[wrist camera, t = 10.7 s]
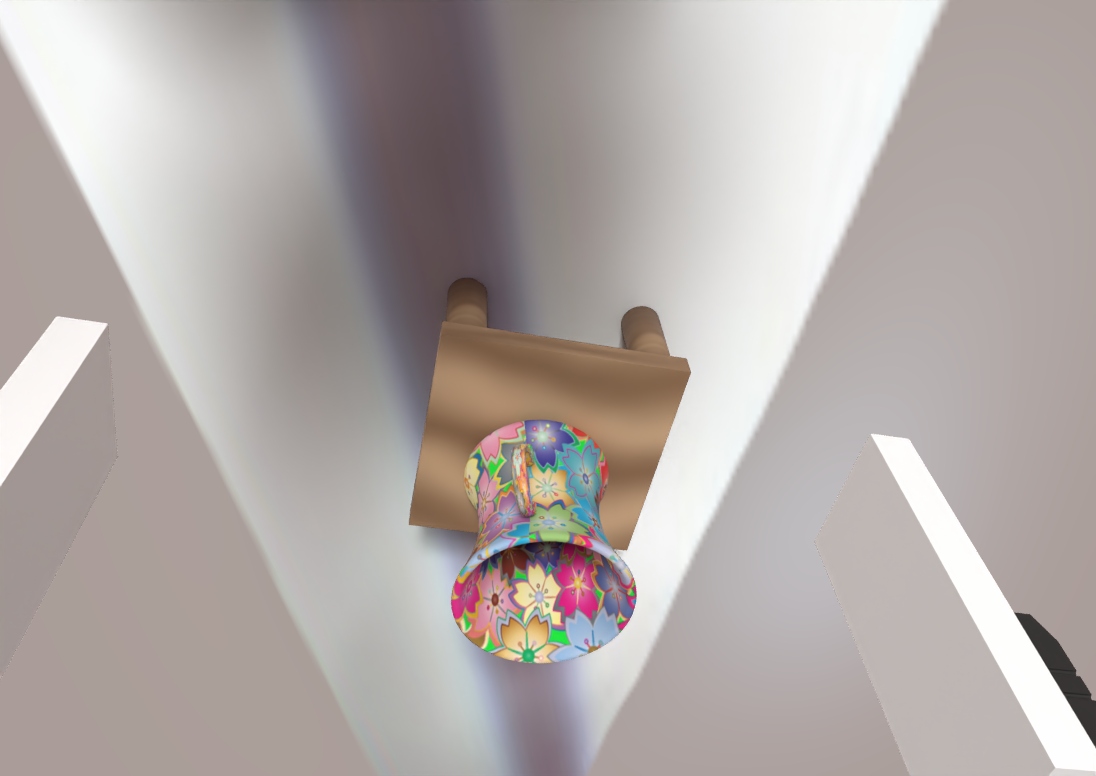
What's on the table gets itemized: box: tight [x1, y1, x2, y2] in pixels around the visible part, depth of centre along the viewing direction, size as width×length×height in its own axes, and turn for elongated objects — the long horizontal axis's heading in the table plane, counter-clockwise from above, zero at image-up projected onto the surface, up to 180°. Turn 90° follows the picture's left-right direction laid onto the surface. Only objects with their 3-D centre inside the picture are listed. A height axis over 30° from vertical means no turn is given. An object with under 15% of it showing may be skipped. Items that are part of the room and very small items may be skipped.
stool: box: [409, 278, 691, 550], centre depth 57 cm, size 14×14×7 cm
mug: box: [451, 420, 637, 663], centre depth 49 cm, size 12×9×11 cm
